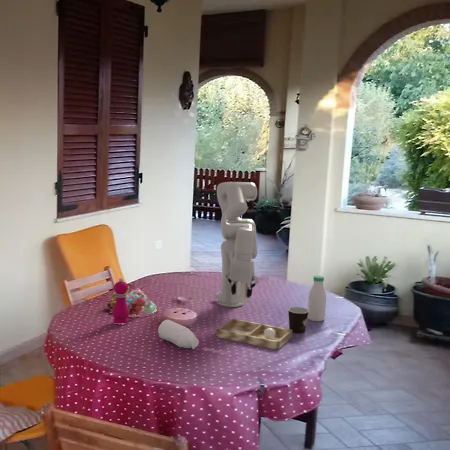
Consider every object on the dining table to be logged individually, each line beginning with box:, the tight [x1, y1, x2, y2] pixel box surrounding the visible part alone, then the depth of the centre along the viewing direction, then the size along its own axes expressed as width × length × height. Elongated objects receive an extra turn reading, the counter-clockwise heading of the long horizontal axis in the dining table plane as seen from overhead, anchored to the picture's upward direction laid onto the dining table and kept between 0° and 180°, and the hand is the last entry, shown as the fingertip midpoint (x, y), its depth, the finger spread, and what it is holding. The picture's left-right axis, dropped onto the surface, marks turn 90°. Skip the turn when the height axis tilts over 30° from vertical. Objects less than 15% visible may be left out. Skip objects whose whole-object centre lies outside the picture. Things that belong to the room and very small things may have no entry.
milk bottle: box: [307, 275, 327, 322], centre depth 267 cm, size 8×8×20 cm
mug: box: [235, 280, 251, 304], centre depth 257 cm, size 10×7×12 cm, turn 158°
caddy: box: [216, 318, 293, 351], centre depth 242 cm, size 27×16×4 cm, turn 65°
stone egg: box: [264, 328, 276, 340], centre depth 239 cm, size 5×5×5 cm
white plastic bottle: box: [157, 319, 200, 350], centre depth 232 cm, size 8×19×8 cm, turn 42°
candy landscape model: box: [105, 285, 160, 317], centre depth 273 cm, size 25×24×9 cm
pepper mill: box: [111, 277, 129, 324], centre depth 253 cm, size 7×7×20 cm
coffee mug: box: [287, 306, 309, 335], centre depth 251 cm, size 12×9×10 cm
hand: (241, 295), depth 258 cm, fingers closed on mug, 6 cm apart
